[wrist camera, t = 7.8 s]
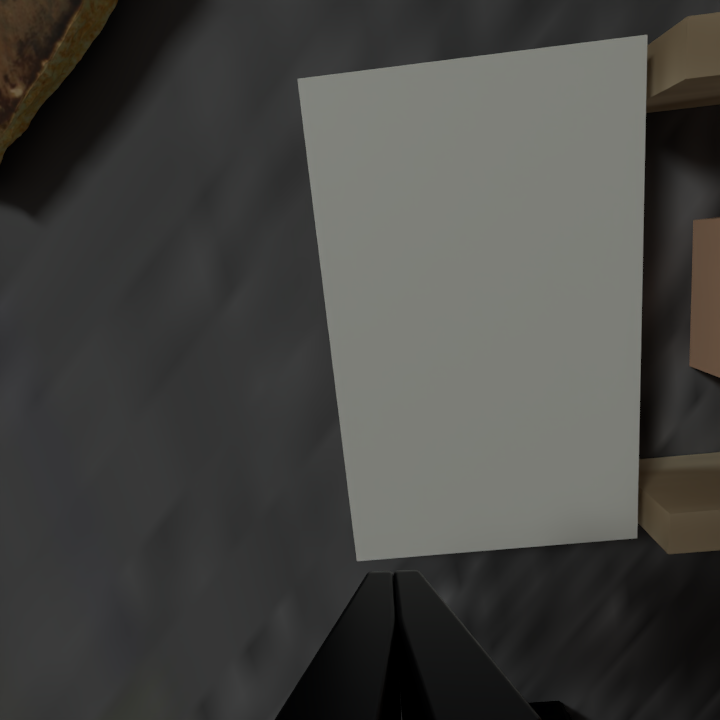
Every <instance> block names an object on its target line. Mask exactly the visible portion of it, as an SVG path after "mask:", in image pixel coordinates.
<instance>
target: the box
mask: <svg viewBox="0 0 720 720" xmlns="http://www.w3.org/2000/svg"><path fill="white" fill-rule="evenodd" d="M718 104H720V12H718V13H710V14H702V15H694V16H688V17H686V18H685V19H683V20H682V21H681V22H679V23H678V24H677V25H675V26H674V27H672V28H671V29H670V30H668V31H667V32H665V33H664V34H663V35H661V36H660V37H659V38H657V39H656V40H654V41H653V42H652V43H650V44H649V45H648V46H647V83H646V113H651V112H660V111H668V110H676V109H685V108H693V107H702V106H710V105H718ZM638 523H639V524H640V526H641V527H642V528H643V529H644V530H645V531H646V532H647V533H648V534H649V535H650V536H651V537H652V538H653V539H654V540H655V541H656V542H657V543H658V544H659V545H660V546H661V547H662V548H663V549H664V550H665V551H666V552H667V553H668V554H678V553H690V552H703V551H715V550H720V452H716V453H705V454H694V455H682V456H671V457H660V458H649V459H639V476H638Z"/></svg>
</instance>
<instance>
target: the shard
mask: <svg viewBox="0 0 720 720" xmlns="http://www.w3.org/2000/svg"><path fill="white" fill-rule="evenodd" d="M117 2H118V0H0V164H1V161H2V158H3V155H4V153H5V151H6V149H7V147H9V146H10V145H11V144H12V143H13V142H14V141H15V140H16V139H17V138H18V137H20V136H21V135H22V133H23V132H25V131H26V130H27V128H28V127H29V125H30V122H31V120H32V119H33V117H34V116H35V114H36V113H37V111H38V110H39V108H40V107H41V106H42V104H43V103H44V102H45V101H46V99H48V98H49V97H50V96H51V95H52V94H53V93H54V92H55V91H56V90H57V89H58V88H59V86H60V85H61V83H62V82H63V81H64V80H65V78H66V77H67V76H68V75H69V74H70V73H71V71H72V70H73V69H74V68H75V66H76V64H77V63H78V62H79V61H80V60H81V59H82V57H83V55H84V54H85V52H86V51H87V49H88V48H89V47H90V45H91V44H92V42H93V41H94V39H95V38H96V37H97V36H98V35H99V34H100V32H101V30H102V29H103V27H104V26H105V24H106V22H107V20H108V18H109V16H110V14H111V13H112V11H113V10H114V9H115V7H116V5H117Z"/></svg>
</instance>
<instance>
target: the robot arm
mask: <svg viewBox="0 0 720 720" xmlns="http://www.w3.org/2000/svg"><path fill="white" fill-rule="evenodd" d="M399 680H400V681H399ZM400 696H401V701H400ZM401 712H402V720H572V719H571V717H570V714H569V713H568V712H567V711H566V709H565V707H564V705H563V704H562V703H561V702H560V701H549V702H534V703H528V702H527V701H526V700H525V699H524V697H523V696H522V695H521V694H520V693H519V691H518V690H517V689H516V688H515V687H514V685H513V684H512V683H511V682H510V681H509V679H508V678H507V677H506V676H505V674H504V673H503V672H502V671H501V670H500V668H499V667H498V666H497V665H496V664H495V662H494V661H493V660H492V659H491V658H490V656H489V655H488V654H487V653H486V651H485V650H484V649H483V648H482V647H481V645H480V644H479V643H478V642H477V641H476V639H475V638H474V637H473V636H472V635H471V633H470V632H469V631H468V630H467V629H466V627H465V626H464V625H463V624H462V622H461V621H460V620H459V619H458V618H457V616H456V615H455V614H454V613H453V612H452V610H451V609H450V608H449V607H448V606H447V604H446V603H445V602H444V601H443V599H442V598H441V597H440V596H439V595H438V593H437V592H436V591H435V590H434V589H433V587H432V586H431V585H430V584H429V583H428V581H427V580H426V579H425V578H424V576H423V575H422V574H421V573H420V572H419V571H417V570H400V571H396V572H395V573H394V578H393V573H392V572H390V571H373V572H369V573H367V575H366V576H365V578H364V579H363V581H362V583H361V584H360V586H359V587H358V589H357V591H356V592H355V594H354V595H353V597H352V598H351V600H350V602H349V603H348V605H347V606H346V608H345V609H344V611H343V613H342V614H341V616H340V617H339V619H338V621H337V622H336V624H335V625H334V627H333V628H332V630H331V632H330V633H329V635H328V636H327V638H326V639H325V641H324V643H323V644H322V646H321V647H320V649H319V651H318V652H317V654H316V655H315V657H314V658H313V660H312V662H311V663H310V665H309V666H308V668H307V669H306V671H305V673H304V674H303V676H302V677H301V679H300V680H299V682H298V684H297V685H296V687H295V688H294V690H293V692H292V693H291V695H290V696H289V698H288V699H287V701H286V703H285V704H284V706H283V707H282V709H281V710H280V712H279V714H278V715H277V717H276V718H275V720H401Z"/></svg>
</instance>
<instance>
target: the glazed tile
mask: <svg viewBox="0 0 720 720" xmlns="http://www.w3.org/2000/svg"><path fill="white" fill-rule="evenodd" d="M690 367H693V368H696V369H698V370H701V371H704V372H706V373H709V374H711V375H714V376H717V377H719V378H720V217H715V218H707V219H699V220H693V256H692V294H691V332H690Z"/></svg>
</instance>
